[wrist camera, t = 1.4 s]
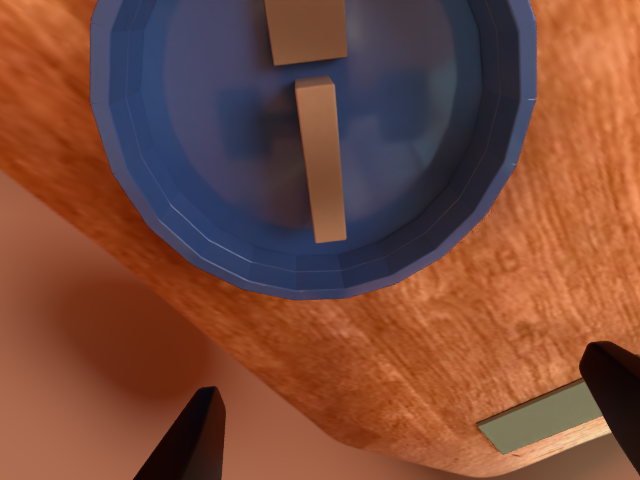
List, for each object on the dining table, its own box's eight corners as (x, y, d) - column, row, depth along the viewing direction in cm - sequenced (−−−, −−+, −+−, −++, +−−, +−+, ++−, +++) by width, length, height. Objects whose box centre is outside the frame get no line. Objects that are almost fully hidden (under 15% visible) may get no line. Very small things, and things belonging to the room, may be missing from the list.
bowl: (537, 147, 17) (588, 174, 14) (288, 301, 21) (287, 346, 18) (371, -269, 10) (403, -386, 7) (49, 74, 14) (-15, 88, 11)
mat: (501, 451, 32) (502, 455, 31) (476, 423, 29) (477, 427, 29) (651, 392, 28) (655, 395, 28) (638, 354, 26) (641, 357, 26)
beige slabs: (256, -52, 12) (249, -67, 10) (338, -63, 12) (347, -79, 10) (298, 220, 18) (299, 246, 16) (355, 213, 18) (362, 238, 16)
